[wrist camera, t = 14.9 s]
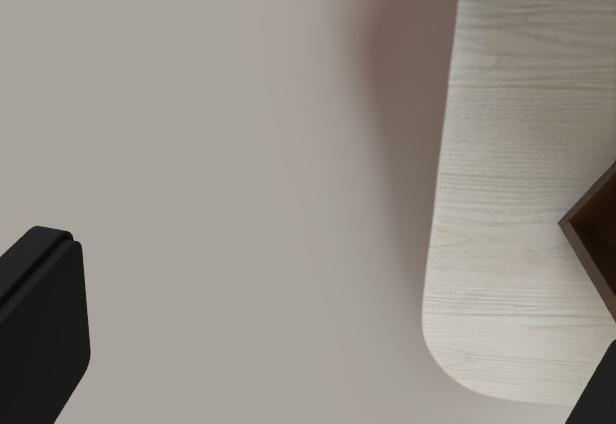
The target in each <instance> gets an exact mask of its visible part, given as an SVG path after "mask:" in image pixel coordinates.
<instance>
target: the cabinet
mask: <svg viewBox="0 0 616 424" xmlns="http://www.w3.org/2000/svg"><path fill="white" fill-rule="evenodd" d="M558 224H559V225H560V227H561V229H562V231H563V232H564V234H565V236H566V237H567V239H568V241H569V243H570V244H571V246H572V248H573V250H574V251H575V253H576V255H577V256H578V258H579V260H580V262H581V263H582V265H583V267H584V269H585V270H586V272H587V274H588V275H589V277H590V279H591V281H592V282H593V284H594V286H595V288H596V289H597V291H598V293H599V294H600V296H601V298H602V300H603V301H604V303H605V305H606V307H607V308H608V310H609V312H610V313H611V315H612V317H613V319H614V320H615V322H616V162H615V163H614V164H613V165H612V166H611V167H610V168H609V169H608V171H607V172H606V173H605V174H604V175H603V176H602V177H601V178H600V179H599V180H598V181H597V182H596V183H595V184H594V185H593V186H592V188H591V189H590V190H589V191H588V192H587V193H586V194H585V195H584V196H583V197H582V198H581V199H580V200H579V201H578V202H577V203H576V205H575V206H574V207H573V208H572V209H571V210H570V211H569V212H568V213H567V214H566V215H565V216H564V217H563V218H562V219H561V221H560V222H559V223H558Z"/></svg>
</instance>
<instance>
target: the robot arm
mask: <svg viewBox="0 0 616 424" xmlns="http://www.w3.org/2000/svg"><path fill="white" fill-rule="evenodd" d="M89 361H90V339H89V326H88V315H87V303H86V290H85V278H84V266H83V253H82V246H81V244H80V243H79V242H78V241H74V240H73V236H72V234H71V233H70V232H68V231H63V230H58V229H53V228H47V227H41V226H35V227H32V228H31V229H30V230H28V231H27V232H26V233H25V234H24V235H23V236H22V237H21V238H20V239H19V240H18V241H17V242H16V243H15V244H14V245H13V246H12V247H10V248H9V249H8V250H7V251H6V252H5V253H4V254H3V255H2V256H1V257H0V424H54V422H55V421H56V419H57V417H58V416H59V414H60V413H61V411H62V409H63V408H64V405H65V404H66V403H67V401H68V400H69V398H70V396H71V395H72V393H73V391H74V390H75V388H76V387H77V385H78V383H79V382H80V380H81V379H82V377H83V375H84V374H85V372H86V370H87V367H88V364H89ZM565 424H616V340H614V341H613V342H612V343H611V344H610V346H609V348H608V349H607V351H606V353H605V355H604V356H603V358H602V360H601V362H600V363H599V365H598V367H597V369H596V370H595V372H594V374H593V376H592V377H591V379H590V381H589V382H588V384H587V386H586V388H585V389H584V391H583V393H582V395H581V396H580V398H579V400H578V402H577V403H576V405H575V407H574V409H573V410H572V412H571V414H570V416H569V417H568V419H567V421H566V423H565Z"/></svg>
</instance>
